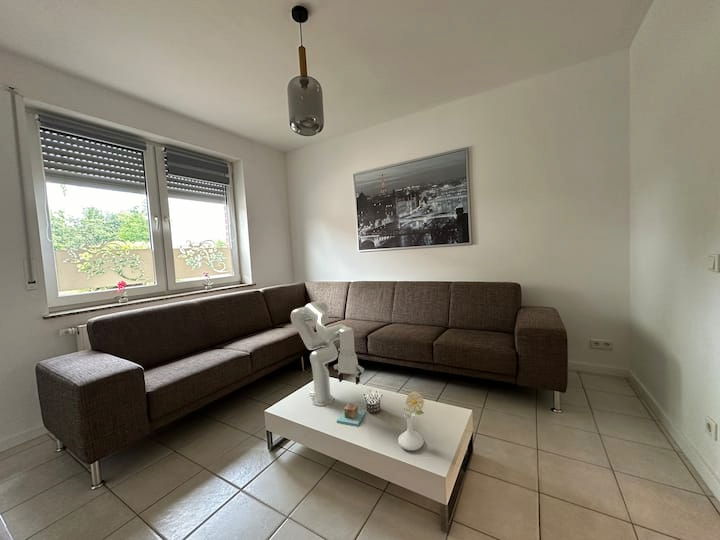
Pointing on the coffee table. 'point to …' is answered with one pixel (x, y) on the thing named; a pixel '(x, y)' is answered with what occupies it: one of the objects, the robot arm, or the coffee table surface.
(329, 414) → the coffee table surface
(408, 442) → the flower in vase
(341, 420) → the teal board
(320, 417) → the coffee table surface
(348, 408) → the walnut block
